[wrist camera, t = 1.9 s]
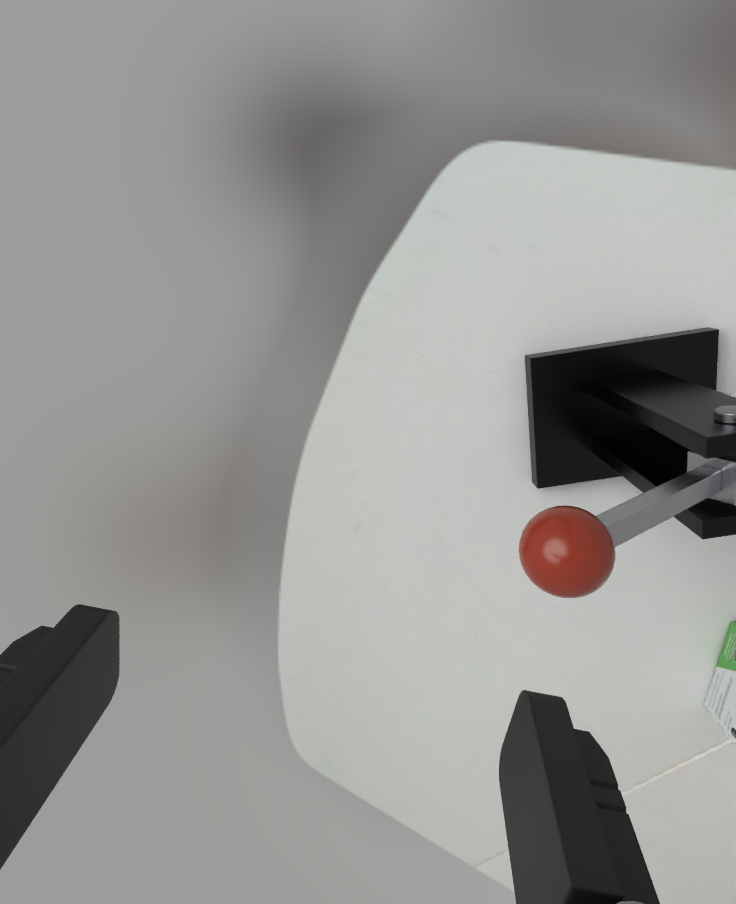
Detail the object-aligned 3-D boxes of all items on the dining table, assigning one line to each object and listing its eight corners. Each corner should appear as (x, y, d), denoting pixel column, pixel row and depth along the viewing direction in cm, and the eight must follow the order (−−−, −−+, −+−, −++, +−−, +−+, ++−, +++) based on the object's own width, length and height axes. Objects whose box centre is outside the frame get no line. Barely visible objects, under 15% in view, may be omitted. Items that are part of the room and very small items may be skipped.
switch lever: (503, 589, 24) (571, 629, 21) (496, 511, 23) (568, 542, 20) (706, 485, 30) (782, 504, 27) (709, 419, 29) (788, 432, 26)
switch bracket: (532, 482, 41) (621, 589, 28) (524, 355, 38) (620, 407, 25) (702, 456, 40) (873, 551, 27) (707, 327, 38) (901, 364, 25)
